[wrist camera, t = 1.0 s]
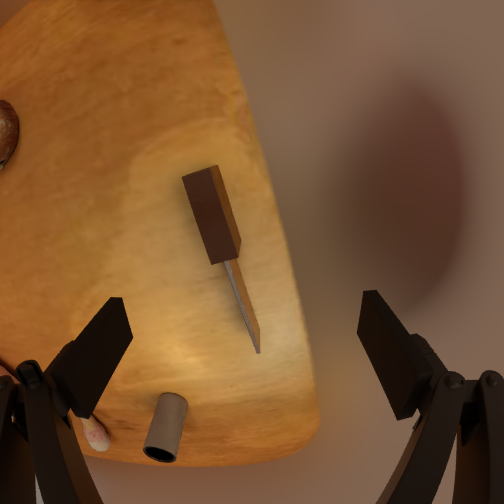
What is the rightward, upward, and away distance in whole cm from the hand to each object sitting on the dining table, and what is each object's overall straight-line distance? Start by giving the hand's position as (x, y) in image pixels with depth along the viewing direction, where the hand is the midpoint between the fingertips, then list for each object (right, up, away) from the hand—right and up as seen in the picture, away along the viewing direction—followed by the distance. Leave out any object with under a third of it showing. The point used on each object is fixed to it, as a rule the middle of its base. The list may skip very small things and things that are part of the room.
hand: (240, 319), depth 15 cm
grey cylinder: (-11, -19, +23) cm, 32 cm away
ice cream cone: (-31, -28, +27) cm, 50 cm away
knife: (-1, +3, +15) cm, 16 cm away
